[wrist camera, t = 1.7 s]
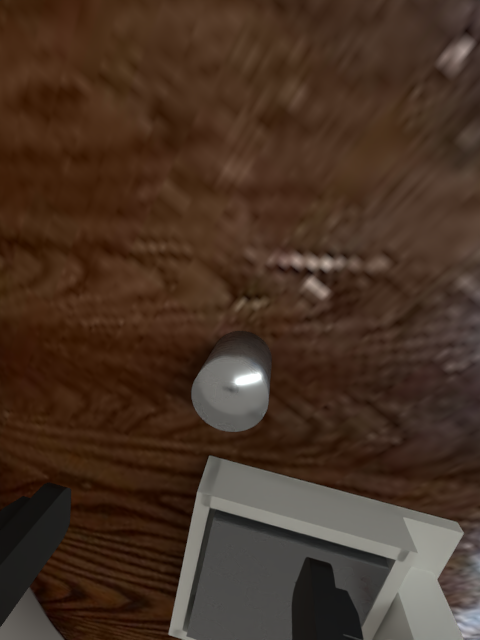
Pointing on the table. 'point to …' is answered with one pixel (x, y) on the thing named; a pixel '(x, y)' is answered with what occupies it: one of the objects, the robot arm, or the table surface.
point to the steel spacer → (234, 383)
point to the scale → (339, 527)
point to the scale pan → (269, 579)
